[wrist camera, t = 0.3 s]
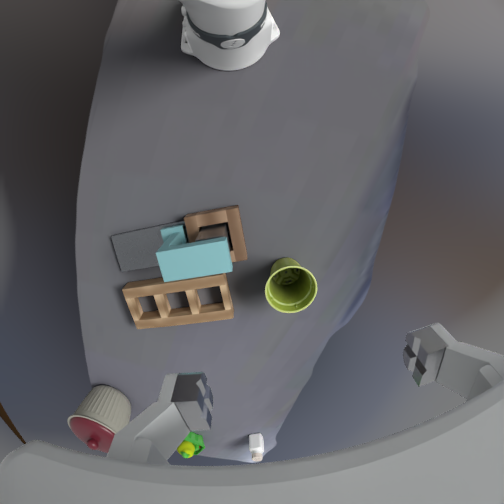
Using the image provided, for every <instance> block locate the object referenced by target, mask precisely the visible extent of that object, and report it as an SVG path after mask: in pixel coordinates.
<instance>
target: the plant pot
mask: <svg viewBox="0 0 504 504" xmlns="http://www.w3.org/2000/svg"><path fill="white" fill-rule="evenodd" d="M296 268H298V271H296ZM285 271H287V273H285ZM274 275H276V278H275V277H274ZM290 280H292V281H291V282H288V283H286V281H290ZM316 293H317V282H316V279H315V277H314V276H313V275H312V273H311V272H310V271H308V270H307V269H305V268H303V267H301V266H300V265H299V264H298V263H297V261H295V260H293V259H291V258H281V259H279V260H277V261H276V262H275V263H274V264H273V266H272V268H271V273H270V277H269V279H268V280H267V283H266V286H265V296H266V299H267V301H268V303H269V304H270V305H271V306H272V307H273V308H274V309H276V310H278V311H280V312H284V313H295V312H299V311H301V310H303V309H305V308H306V307H308V306H309V305H310V304H311V303H312V301H313V300H314V298H315V296H316Z"/></svg>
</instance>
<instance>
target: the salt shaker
mask: <svg viewBox="0 0 504 504" xmlns="http://www.w3.org/2000/svg"><path fill="white" fill-rule="evenodd" d="M249 450H250V452H251V453H252V460H253V461H261V460H262V453H263V452H264V442H263V437H262V435H261V433H257V434H250V435H249Z"/></svg>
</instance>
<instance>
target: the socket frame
mask: <svg viewBox="0 0 504 504" xmlns="http://www.w3.org/2000/svg"><path fill="white" fill-rule="evenodd" d="M224 222H228V225H229V230H230V235H231V240H232V245H233V246H231V248H230V256H231V261H232V262H236V261H243V260H247V251H246V245H245V240H244V234H243V229H242V223H241V218H240V212H239V207H238V205H235V206H229V207H224V208H218V209H213V210H207V211H202V212H197V213H192V214H187V215H186V216H185V217H184V220H182V221H177V222H172V223H167V224H163V225H158V226H153V227H148V228H143V229H139V230H134V231H130V232H125V233H121V234H116V235H113V236H111V238H112V242H113V245H114V249H115V252H116V255H117V258H118V262H119V265H120V268H121V271H122V272H125V271H131V270H137V269H143V268H149V267H155V266H159V263H158V259H157V256H156V252H157V251H158V249H159V248H160V247H161V246H162V245H163V243H164V242H163V238H162V234H161V229H162V228H167V227H172V226H177V225H182V224H183V225H184V229H185V233H186V237H187V242H188V243H192V242H195V240H196V238H197V236H198V234H199V232H200V230H201V227H202V226H207V225H213V224H218V223H224Z"/></svg>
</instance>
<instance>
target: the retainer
mask: <svg viewBox="0 0 504 504" xmlns="http://www.w3.org/2000/svg"><path fill="white" fill-rule="evenodd" d="M161 234H162V238H163V242H164V243H163V245H162V246H161V247H160V248H159V249H158V251H157V252H156V256H157V259H158V263H159V266H160V270H161V273H162V276H163V280H164V282H169V281H175V280H182V279H188V278H195V277H201V276H208V275H214V274H220V273H227V272H232V268H233V266H232V261H231V256H230V251H229V247H228V242H227V237H221V238H215V239H209V240H204V241H198V242H192V243H188V242H187V237H186V233H185V229H184V225H183V224H182V225H177V226H172V227H167V228H162V229H161Z"/></svg>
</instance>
